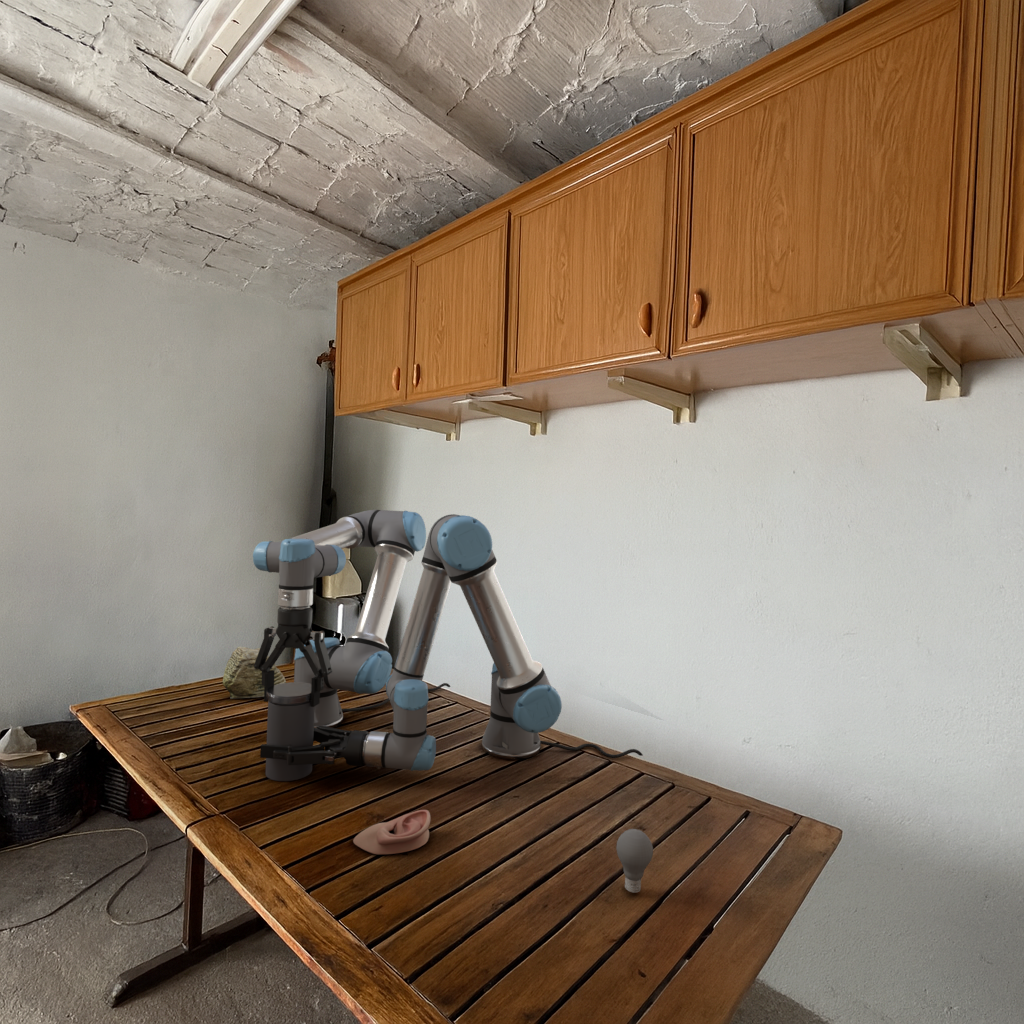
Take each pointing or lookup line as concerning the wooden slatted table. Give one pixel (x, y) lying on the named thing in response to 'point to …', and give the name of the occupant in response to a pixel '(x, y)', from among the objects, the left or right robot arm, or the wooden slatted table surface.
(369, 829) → the anatomical model
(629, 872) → the light bulb
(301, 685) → the lid
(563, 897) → the wooden slatted table surface
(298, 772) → the jar
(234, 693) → the fossil
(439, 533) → the right robot arm
